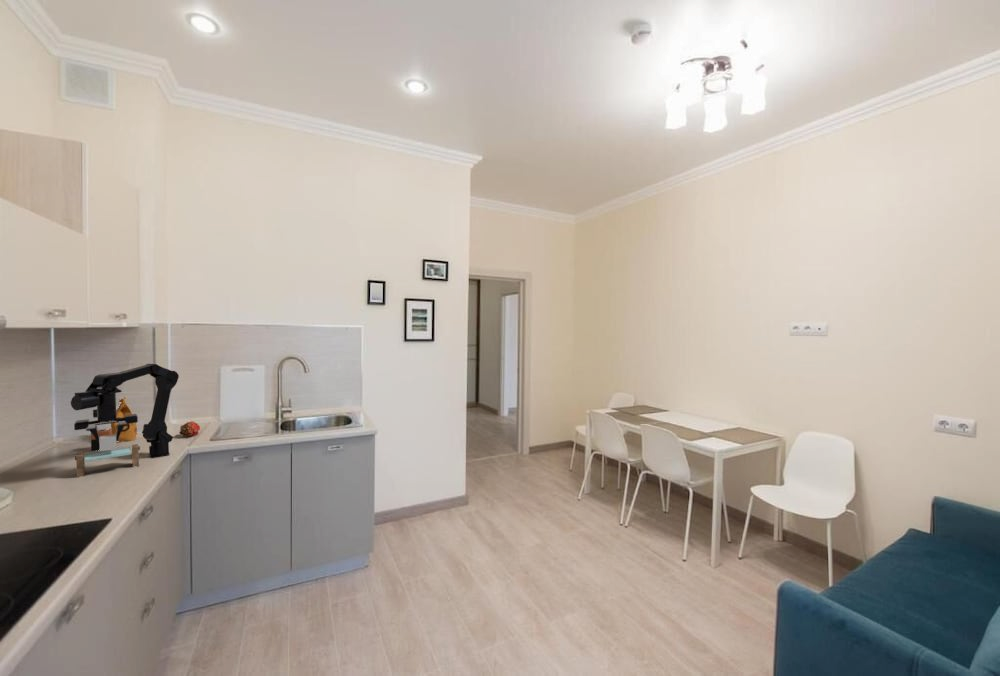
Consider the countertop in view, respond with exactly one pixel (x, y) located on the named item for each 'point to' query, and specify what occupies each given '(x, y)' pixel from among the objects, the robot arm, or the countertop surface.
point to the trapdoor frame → (81, 463)
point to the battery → (101, 433)
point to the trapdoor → (107, 453)
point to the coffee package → (131, 429)
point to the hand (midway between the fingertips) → (108, 442)
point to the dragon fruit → (189, 429)
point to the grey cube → (108, 442)
